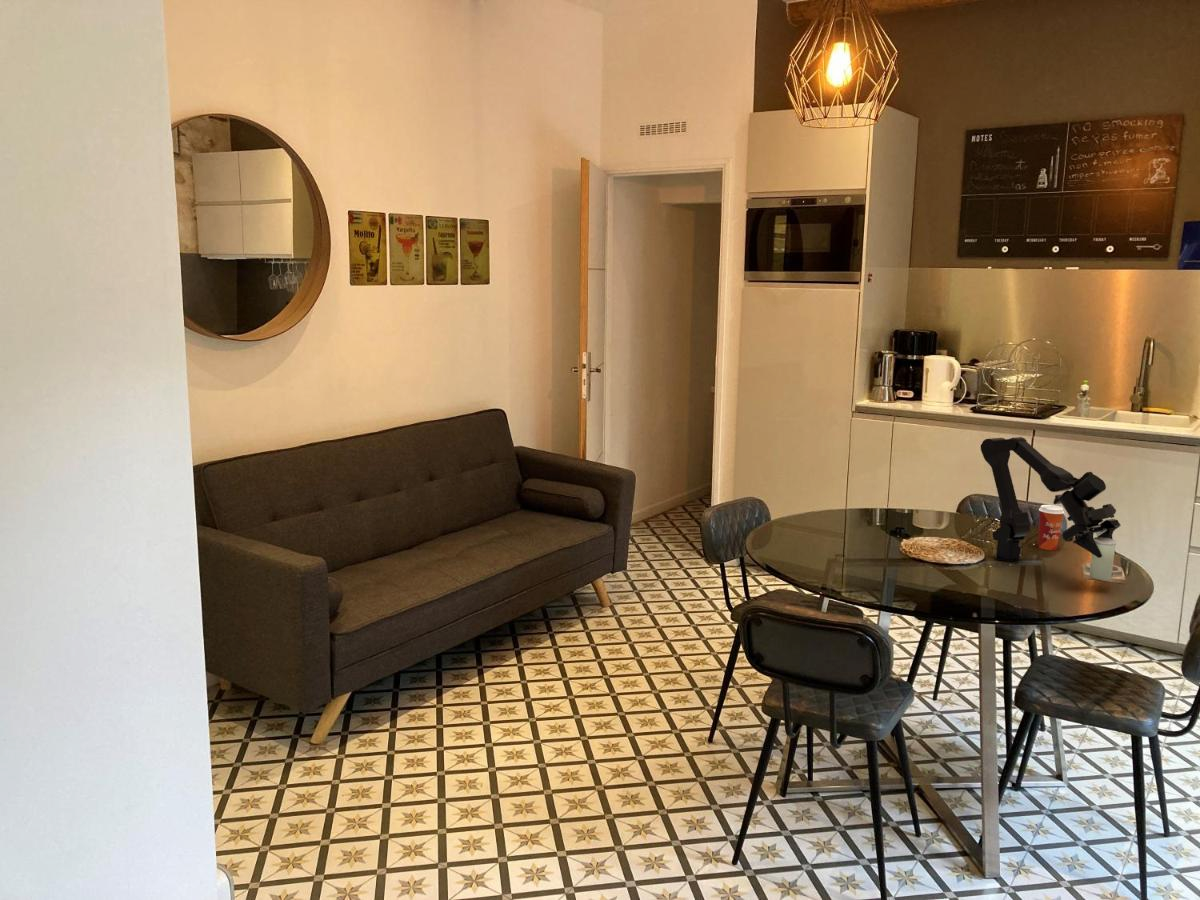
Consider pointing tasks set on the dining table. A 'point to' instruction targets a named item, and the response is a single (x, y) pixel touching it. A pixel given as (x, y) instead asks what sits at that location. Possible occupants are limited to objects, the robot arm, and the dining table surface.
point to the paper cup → (1049, 526)
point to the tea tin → (1103, 559)
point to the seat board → (1116, 576)
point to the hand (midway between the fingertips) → (1107, 555)
